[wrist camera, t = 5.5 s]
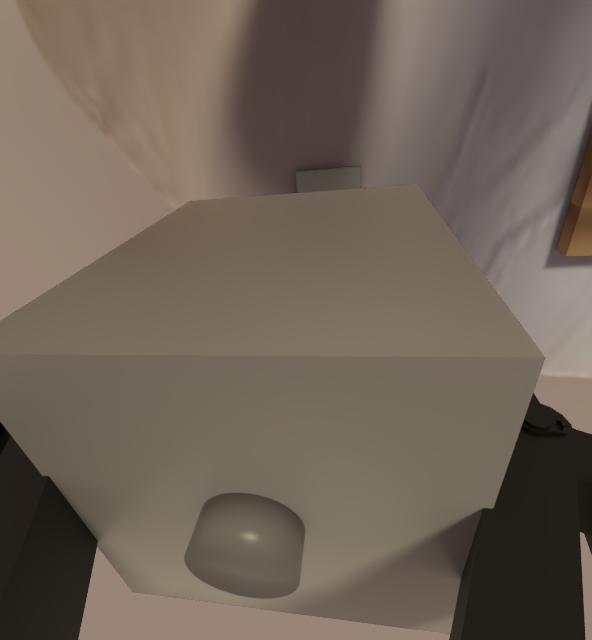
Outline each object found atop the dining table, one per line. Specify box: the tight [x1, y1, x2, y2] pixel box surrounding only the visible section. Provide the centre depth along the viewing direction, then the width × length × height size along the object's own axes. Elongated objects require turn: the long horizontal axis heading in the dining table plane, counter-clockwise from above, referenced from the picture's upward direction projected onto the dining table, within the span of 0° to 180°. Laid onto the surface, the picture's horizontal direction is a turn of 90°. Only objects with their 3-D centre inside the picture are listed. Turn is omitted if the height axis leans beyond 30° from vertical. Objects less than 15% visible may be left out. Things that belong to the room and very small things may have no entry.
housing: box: [0, 184, 545, 634], centre depth 10 cm, size 8×8×10 cm
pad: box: [295, 166, 361, 193], centre depth 27 cm, size 5×5×5 cm
